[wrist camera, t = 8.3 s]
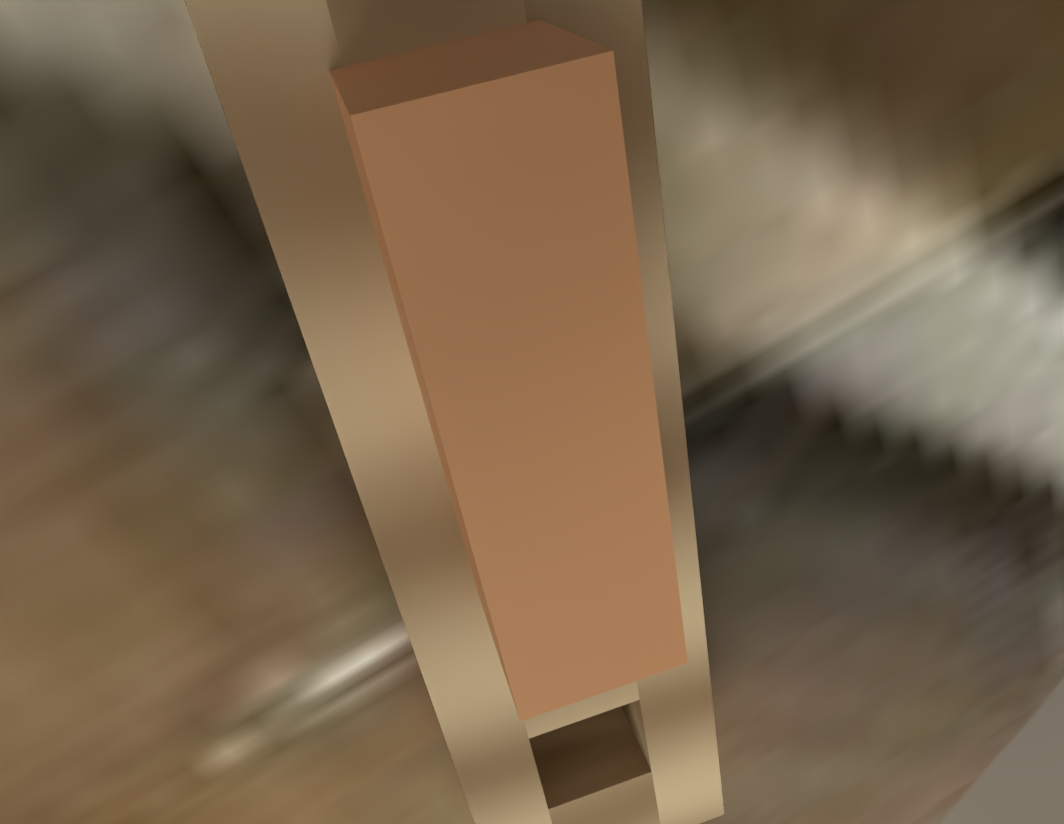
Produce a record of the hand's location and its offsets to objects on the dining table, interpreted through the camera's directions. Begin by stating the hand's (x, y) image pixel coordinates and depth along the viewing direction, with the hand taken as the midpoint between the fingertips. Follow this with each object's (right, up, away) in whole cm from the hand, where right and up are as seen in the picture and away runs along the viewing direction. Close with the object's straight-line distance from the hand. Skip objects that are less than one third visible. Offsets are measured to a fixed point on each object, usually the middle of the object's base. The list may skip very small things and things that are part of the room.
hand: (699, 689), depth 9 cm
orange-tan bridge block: (-3, +5, +8) cm, 10 cm away
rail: (-2, +2, +11) cm, 11 cm away
